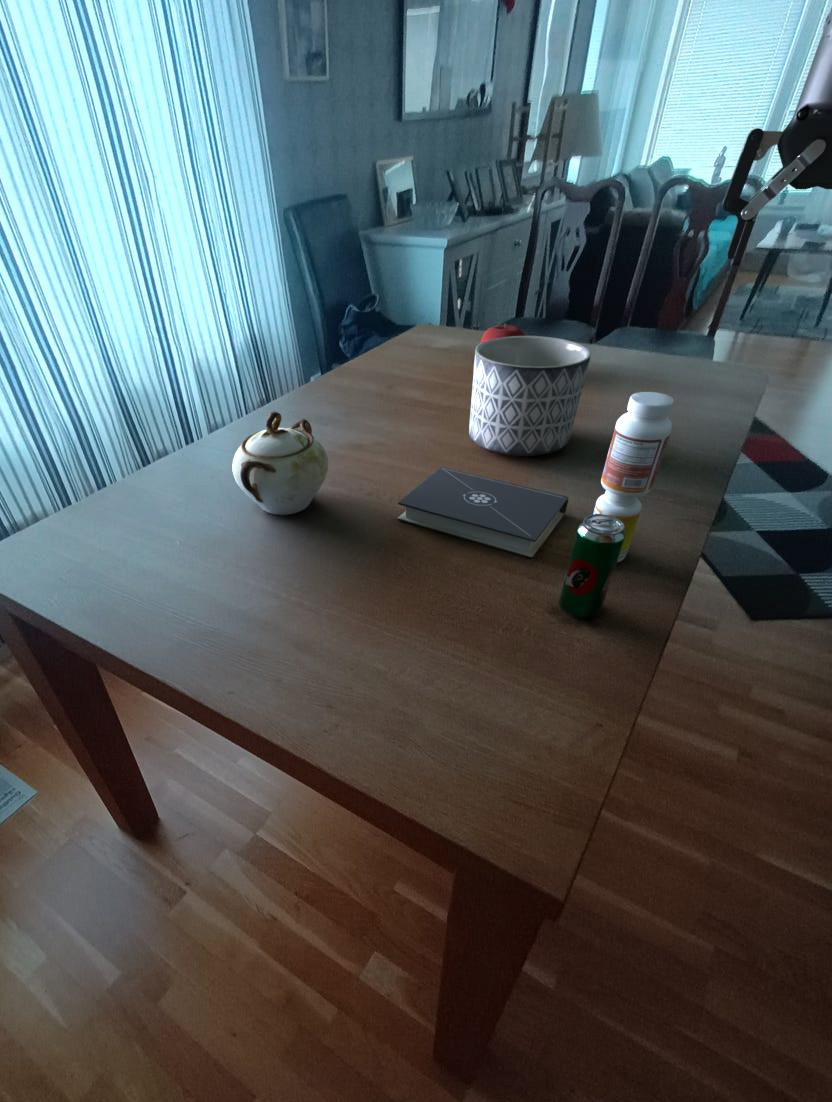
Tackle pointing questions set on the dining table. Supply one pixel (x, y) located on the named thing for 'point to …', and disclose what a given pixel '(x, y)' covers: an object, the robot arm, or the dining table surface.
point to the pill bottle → (638, 445)
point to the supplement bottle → (620, 514)
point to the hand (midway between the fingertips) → (783, 267)
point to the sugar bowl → (281, 466)
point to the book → (484, 510)
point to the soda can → (591, 565)
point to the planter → (526, 393)
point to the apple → (501, 332)
